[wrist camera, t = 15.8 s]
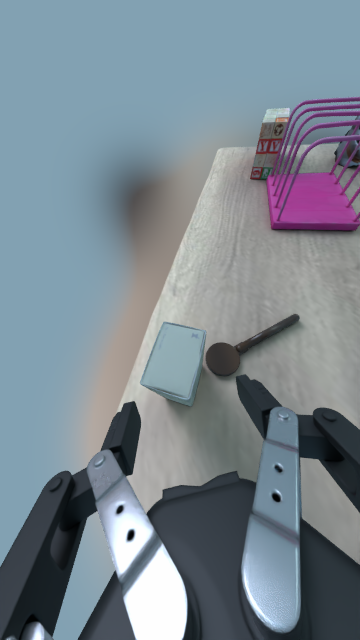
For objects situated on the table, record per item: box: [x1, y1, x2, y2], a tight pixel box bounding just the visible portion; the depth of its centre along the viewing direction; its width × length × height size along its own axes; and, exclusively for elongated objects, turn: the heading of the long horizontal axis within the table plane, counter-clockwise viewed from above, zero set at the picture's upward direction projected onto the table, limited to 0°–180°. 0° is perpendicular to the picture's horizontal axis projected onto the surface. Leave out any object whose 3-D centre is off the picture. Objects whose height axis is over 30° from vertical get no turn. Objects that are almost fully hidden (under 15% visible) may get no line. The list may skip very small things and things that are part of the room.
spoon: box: [206, 314, 300, 376], centre depth 27 cm, size 17×5×1 cm, turn 117°
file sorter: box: [267, 97, 360, 230], centre depth 38 cm, size 17×25×16 cm
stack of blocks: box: [250, 108, 290, 179], centre depth 53 cm, size 21×6×12 cm, turn 161°
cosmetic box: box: [140, 322, 206, 406], centre depth 20 cm, size 6×4×12 cm
